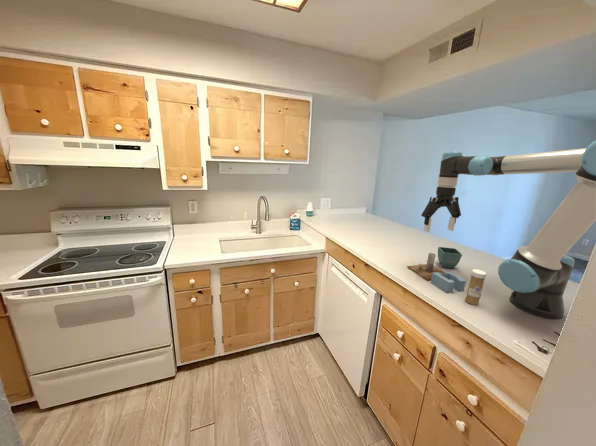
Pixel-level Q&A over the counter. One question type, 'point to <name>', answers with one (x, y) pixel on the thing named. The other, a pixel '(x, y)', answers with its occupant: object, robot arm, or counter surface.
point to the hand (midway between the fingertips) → (438, 230)
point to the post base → (422, 272)
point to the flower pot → (448, 257)
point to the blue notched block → (448, 281)
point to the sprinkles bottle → (475, 286)
